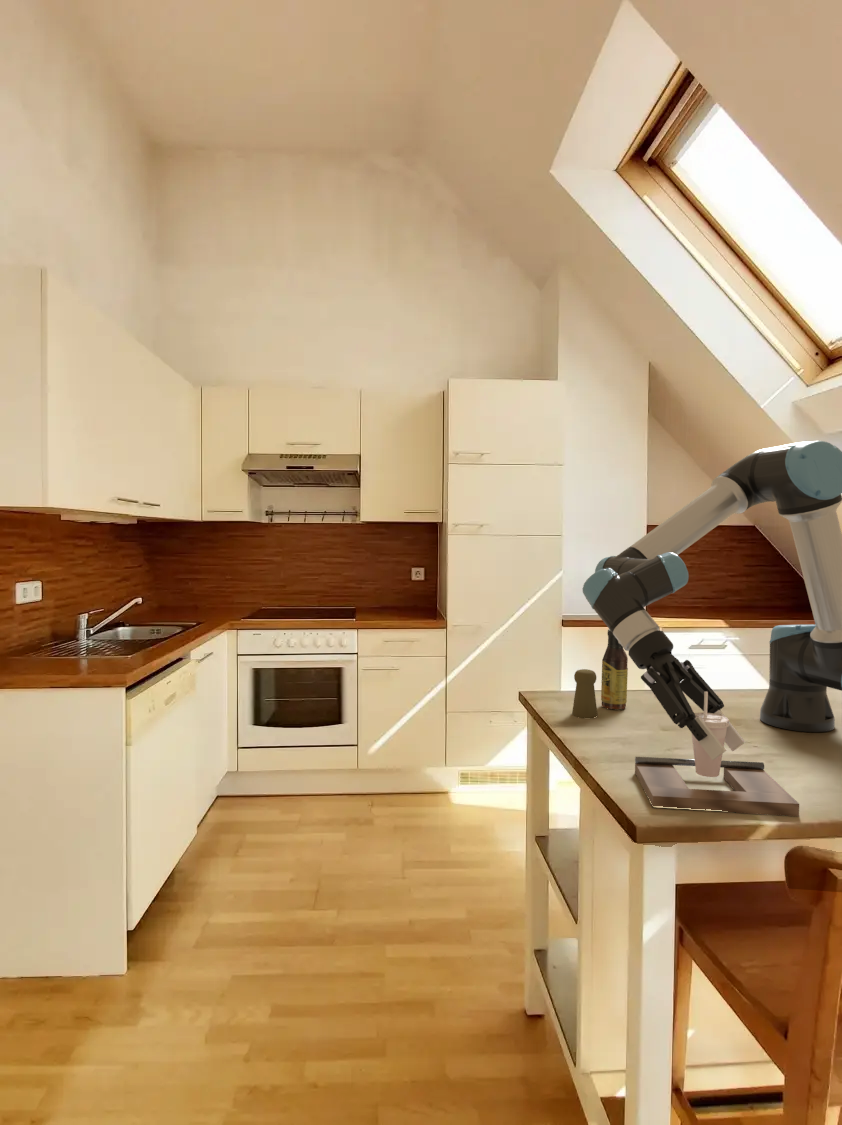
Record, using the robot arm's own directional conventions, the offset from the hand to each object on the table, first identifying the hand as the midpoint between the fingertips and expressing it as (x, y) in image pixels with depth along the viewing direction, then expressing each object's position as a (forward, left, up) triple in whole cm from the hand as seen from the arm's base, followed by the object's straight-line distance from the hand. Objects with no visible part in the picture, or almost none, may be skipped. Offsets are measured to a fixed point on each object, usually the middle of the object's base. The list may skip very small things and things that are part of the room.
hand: (729, 750), depth 113 cm
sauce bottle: (+10, -56, -8) cm, 58 cm away
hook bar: (+2, -9, -6) cm, 11 cm away
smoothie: (+3, -2, -5) cm, 6 cm away
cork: (+18, -48, -8) cm, 52 cm away
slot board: (+2, -1, -8) cm, 8 cm away
